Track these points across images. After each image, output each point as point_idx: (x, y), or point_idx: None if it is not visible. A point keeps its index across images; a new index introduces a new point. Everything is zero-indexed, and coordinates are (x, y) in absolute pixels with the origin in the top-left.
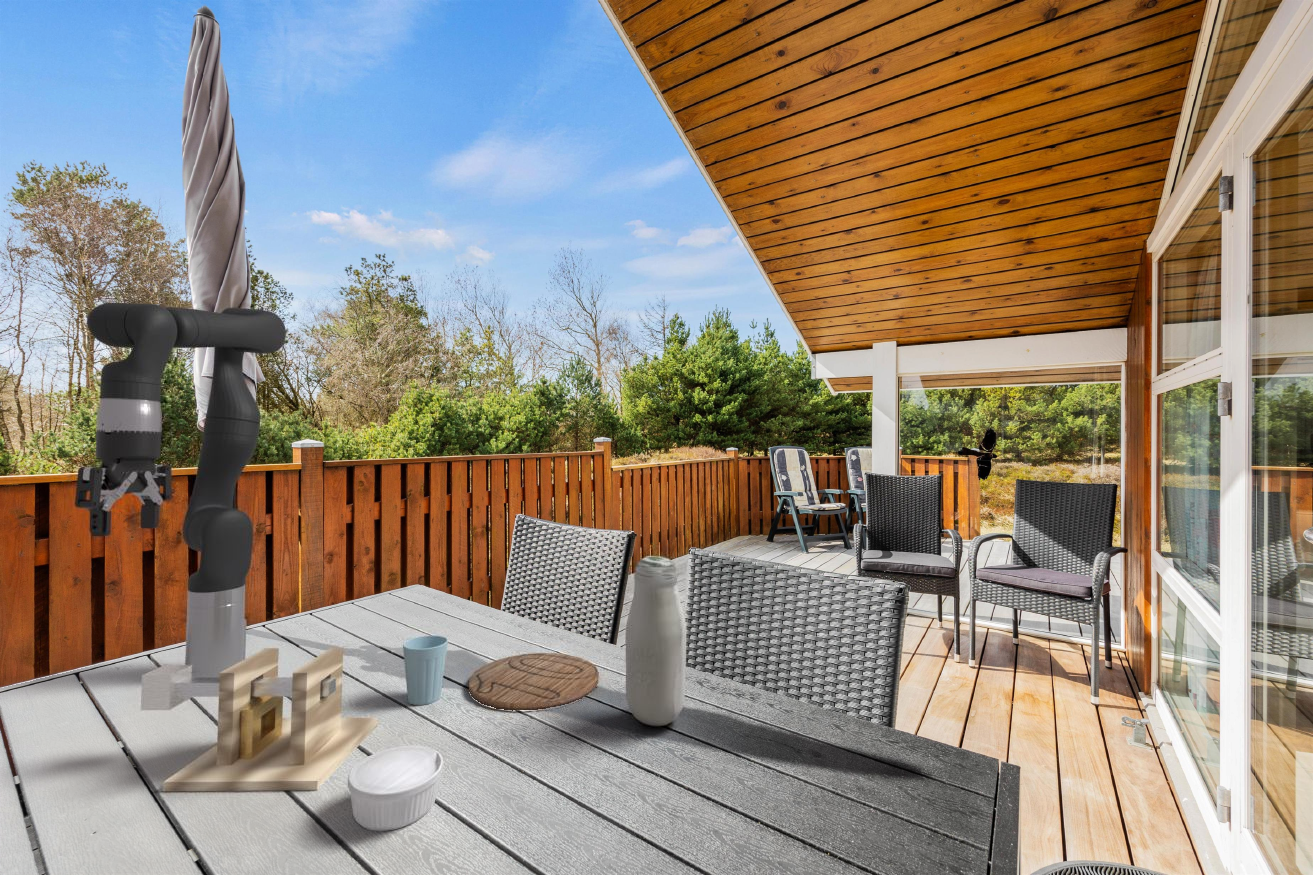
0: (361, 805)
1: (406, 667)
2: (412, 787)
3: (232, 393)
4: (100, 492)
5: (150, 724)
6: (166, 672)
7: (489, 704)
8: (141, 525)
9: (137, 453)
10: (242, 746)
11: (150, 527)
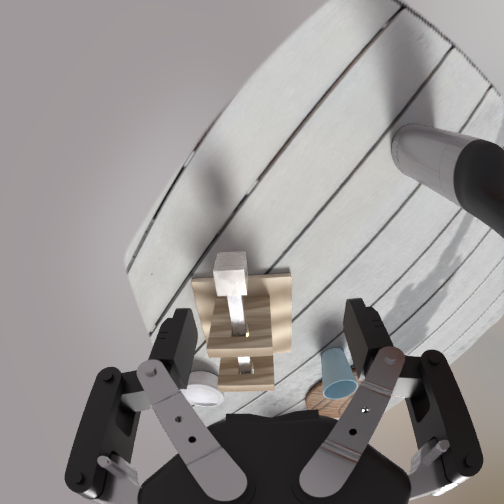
0: None
1: (328, 371)
2: (189, 402)
3: None
4: (133, 438)
5: (291, 180)
6: (223, 287)
7: (313, 388)
8: (349, 302)
9: None
10: None
11: (343, 321)
